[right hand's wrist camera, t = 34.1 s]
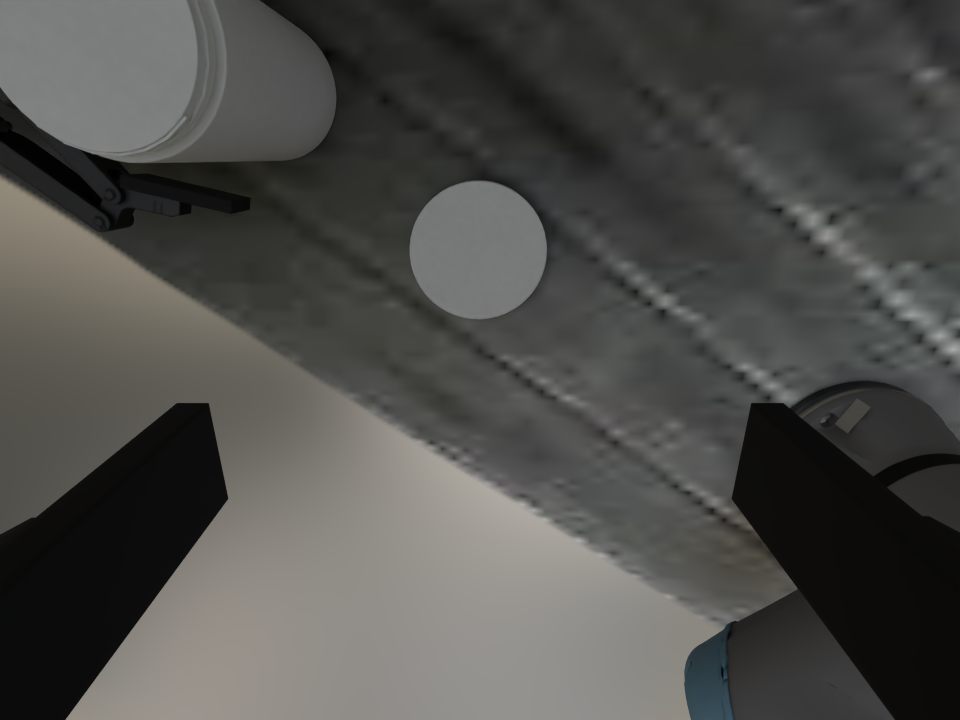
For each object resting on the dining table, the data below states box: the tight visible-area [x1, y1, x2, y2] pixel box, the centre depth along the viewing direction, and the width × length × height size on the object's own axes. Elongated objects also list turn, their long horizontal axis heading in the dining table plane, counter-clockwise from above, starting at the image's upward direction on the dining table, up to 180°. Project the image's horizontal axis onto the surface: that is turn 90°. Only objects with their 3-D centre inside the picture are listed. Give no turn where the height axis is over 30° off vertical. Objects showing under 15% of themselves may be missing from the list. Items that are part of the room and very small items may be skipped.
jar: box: [0, 0, 336, 163], centre depth 28 cm, size 9×9×19 cm
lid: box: [410, 180, 547, 319], centre depth 40 cm, size 10×10×2 cm
